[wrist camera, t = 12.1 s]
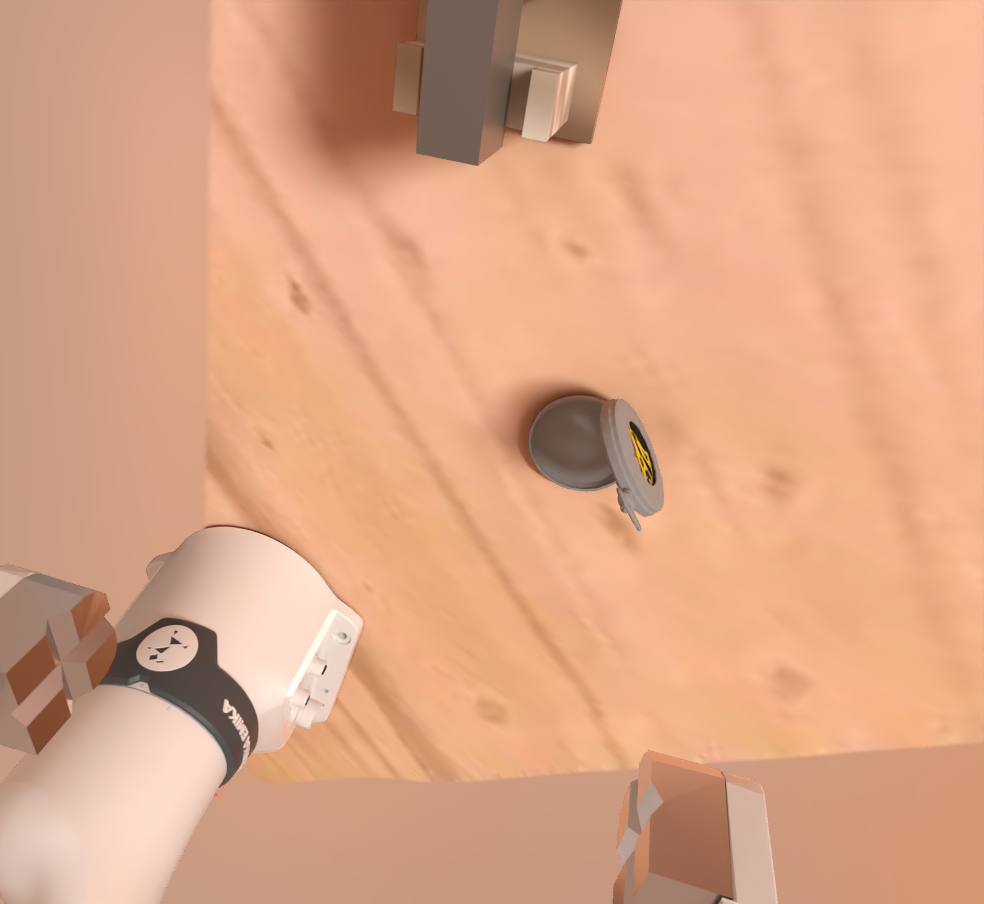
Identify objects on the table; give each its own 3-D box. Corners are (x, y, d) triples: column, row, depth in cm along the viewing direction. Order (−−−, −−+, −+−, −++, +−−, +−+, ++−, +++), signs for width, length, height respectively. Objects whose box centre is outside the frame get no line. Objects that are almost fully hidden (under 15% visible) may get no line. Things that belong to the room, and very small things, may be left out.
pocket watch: (512, 450, 45) (476, 550, 36) (578, 347, 40) (552, 435, 32) (622, 510, 45) (610, 621, 37) (699, 416, 40) (705, 520, 32)
